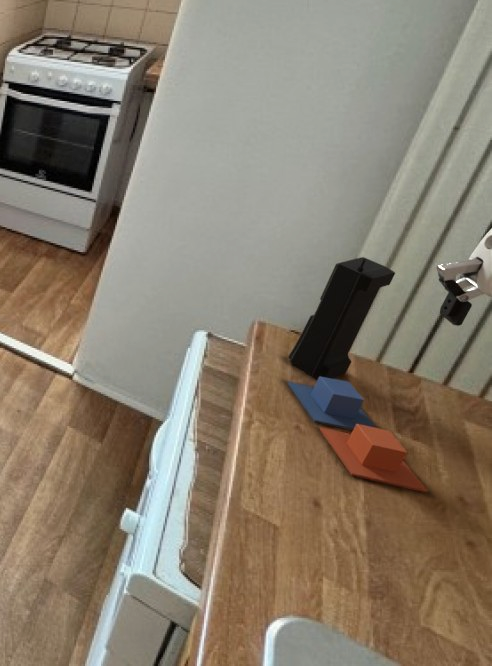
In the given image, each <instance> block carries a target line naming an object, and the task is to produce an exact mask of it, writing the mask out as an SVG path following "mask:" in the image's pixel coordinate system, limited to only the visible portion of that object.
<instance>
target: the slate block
mask: <svg viewBox="0 0 492 666" xmlns="http://www.w3.org/2000/svg"><path fill="white" fill-rule="evenodd" d="M313 387H314V389H313V391H312V393H311V396H312V397H313V399H314V400H315V401H316V402H317V404H318V405H319V406H320V408H321V409H322V410H323V412H324V413H328V414H333V415H338V416H343V417H348V418H353V419H355V417H356V415H357V413H358V411H359V409H360V408H361V407H362V405H363V403H364V401H365V399H364V398H363V396H362V395H361V394H360V393H359V392H358V391H357V389H356V388H355V387H354V386H353V385H352V383H350V381H348V380H347V381H346V380H342V379H337V378H333V379H331V378H326V377H320V376H319V378H317V380H316V382H315V385H314V386H313Z"/></svg>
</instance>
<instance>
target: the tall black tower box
mask: <svg viewBox="0 0 492 666" xmlns="http://www.w3.org/2000/svg"><path fill="white" fill-rule="evenodd" d="M395 275H396V272H395V271H394V270H392V269H390V268H389V267H388V266H385V265H382V264H381V263H378V262H376V261H374V260H371V259H369V258H367V257H364V256H362V257H361V256H360V257H357V258H352V259H348V260H345V261H341V262H337V263H335V265H334V268H333V270H332V271H331V274H330V276H329V278H328V281H327V283H326V285H325V287H324V289H323V291H322V293H321V295H320V298H319V299H320V302H319V304H318V306H317V307H316V310H315V311H314V313H313V314H312V315H310V316H309V318H308V320H307V322H306V324H305V326H304V328H303V330H302V332H301V334H300V336H299V338H298V339H297V342H296V343H295V345H294V347H293V348H292V350H291V352H290V353H289V354H288V359H289V363H290V364H292V365H293V366H295V367H297V368H298V369H299V370H301V371H303V372H305V373H306V374H308V375H310V376H312V377H313V378H316V379H318V378H319V376H320V377H326V378H331V379H337V378H339V377H342V376H344V375H346V373H347V372H348V370H349V368H350V366H351V364H352V360H351V358H350V357H349V353H350V351H351V349H352V346H353V344H354V342H355V340H356V338H357V336H358V334H359V331H360V330H361V328H362V326H363V323H364V322H365V319H366V317H367V316H368V313H369V311H370V309H371V307H372V305H373V303H374V301H375V300H376V296H377V294H378V292H379V291H380V289H381V288H383V287H386V286H387V287H388V286H390V285H391V283H392V282H393V279H394V277H395Z"/></svg>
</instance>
